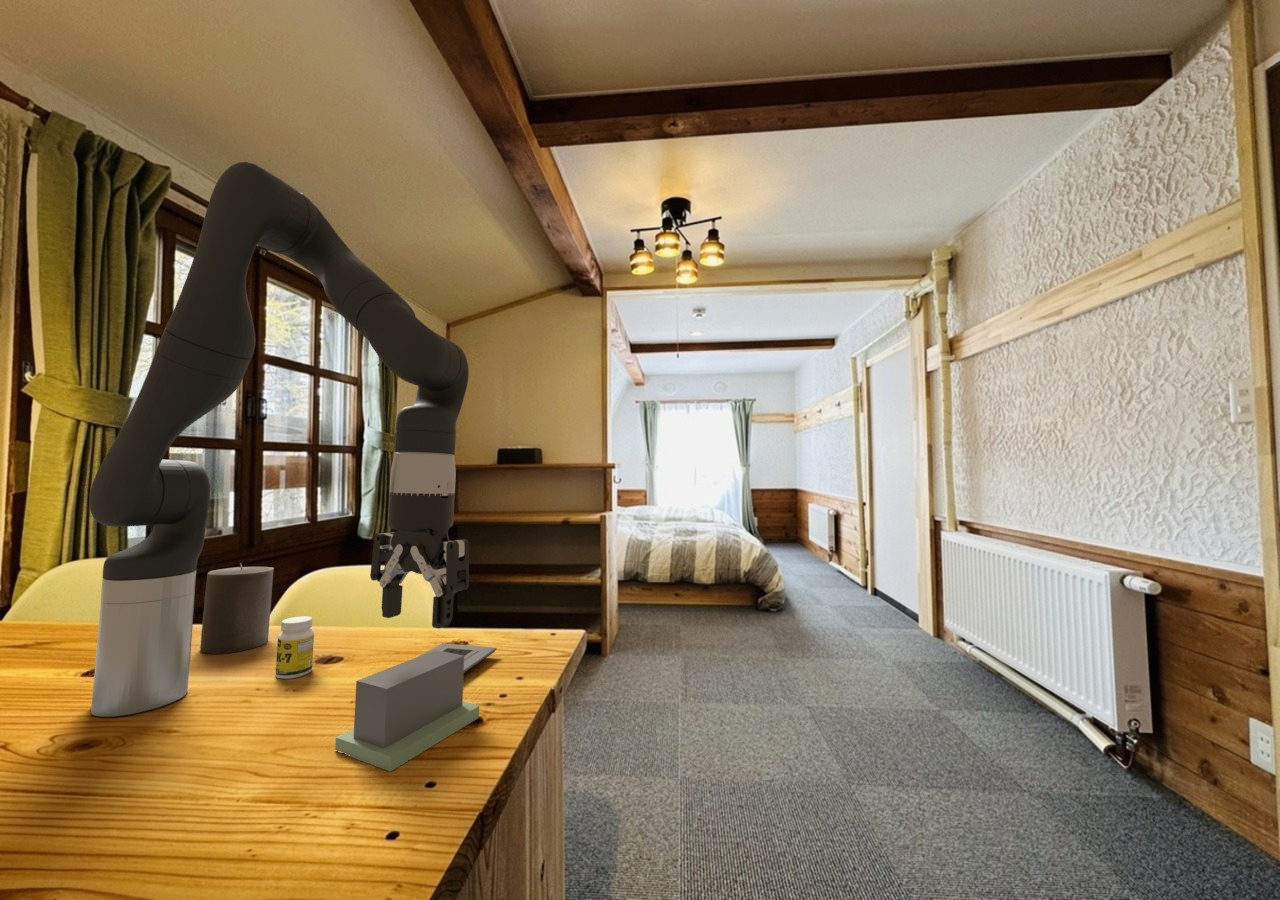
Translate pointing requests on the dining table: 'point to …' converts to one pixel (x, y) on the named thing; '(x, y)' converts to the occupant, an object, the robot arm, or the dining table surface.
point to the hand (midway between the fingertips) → (415, 621)
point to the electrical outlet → (466, 653)
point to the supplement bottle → (295, 648)
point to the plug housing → (407, 697)
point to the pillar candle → (236, 609)
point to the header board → (408, 740)
